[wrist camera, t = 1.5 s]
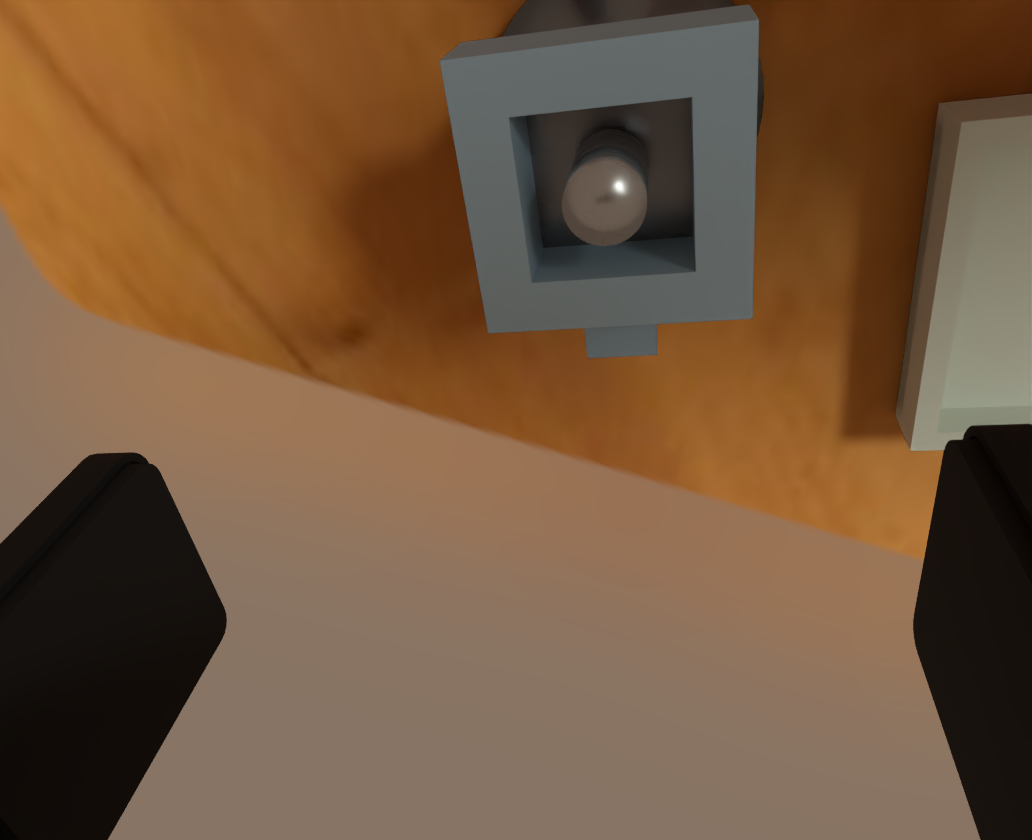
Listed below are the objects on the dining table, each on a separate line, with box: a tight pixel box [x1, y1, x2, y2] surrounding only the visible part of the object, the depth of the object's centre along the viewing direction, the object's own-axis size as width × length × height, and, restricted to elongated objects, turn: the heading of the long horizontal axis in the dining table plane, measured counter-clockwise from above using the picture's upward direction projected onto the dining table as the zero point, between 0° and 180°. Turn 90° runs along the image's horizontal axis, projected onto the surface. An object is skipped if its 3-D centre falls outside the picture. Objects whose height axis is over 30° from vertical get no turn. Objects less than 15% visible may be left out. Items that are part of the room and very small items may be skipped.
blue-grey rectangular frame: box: [440, 4, 759, 358], centre depth 21 cm, size 7×9×2 cm
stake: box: [502, 0, 764, 248], centre depth 23 cm, size 9×9×10 cm
